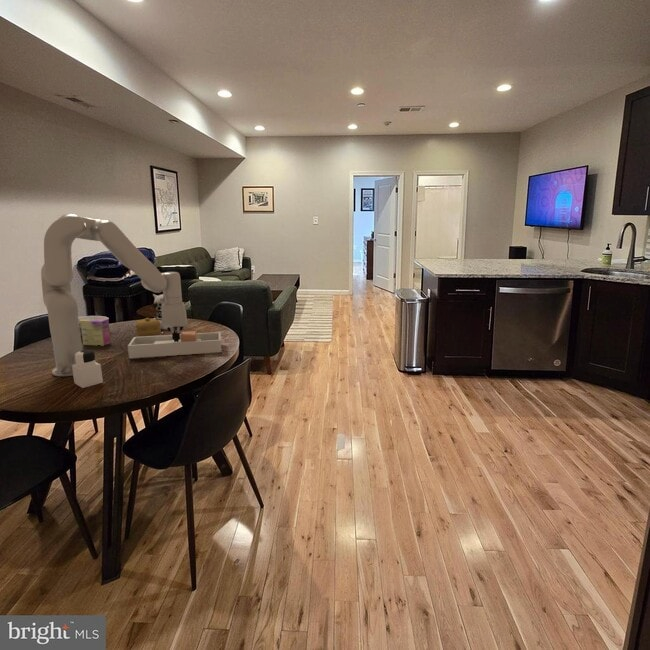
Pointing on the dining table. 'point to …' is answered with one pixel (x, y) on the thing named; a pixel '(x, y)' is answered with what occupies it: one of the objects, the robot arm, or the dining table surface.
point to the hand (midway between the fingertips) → (176, 341)
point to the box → (95, 331)
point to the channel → (173, 346)
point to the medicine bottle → (86, 369)
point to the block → (188, 336)
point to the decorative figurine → (158, 308)
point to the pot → (148, 327)
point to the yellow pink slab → (91, 318)
